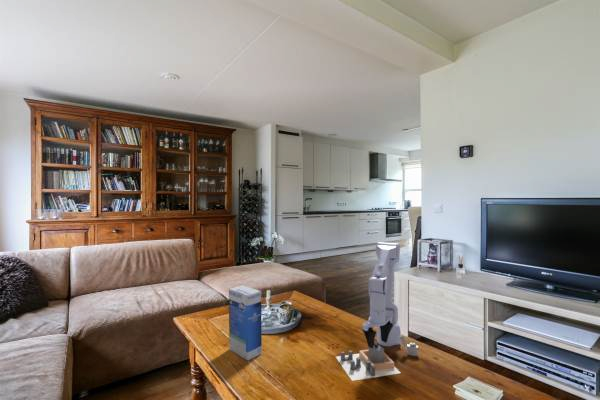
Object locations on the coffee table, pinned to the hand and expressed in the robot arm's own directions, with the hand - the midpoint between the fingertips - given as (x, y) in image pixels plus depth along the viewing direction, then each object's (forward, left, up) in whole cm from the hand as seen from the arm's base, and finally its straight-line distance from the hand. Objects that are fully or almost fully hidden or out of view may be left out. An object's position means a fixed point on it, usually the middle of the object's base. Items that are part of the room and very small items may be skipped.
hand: (377, 344), depth 115 cm
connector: (0, -1, -7) cm, 7 cm away
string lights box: (+49, -22, -8) cm, 54 cm away
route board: (+5, 0, -8) cm, 9 cm away
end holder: (0, -1, -7) cm, 7 cm away
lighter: (-15, -3, -8) cm, 18 cm away
